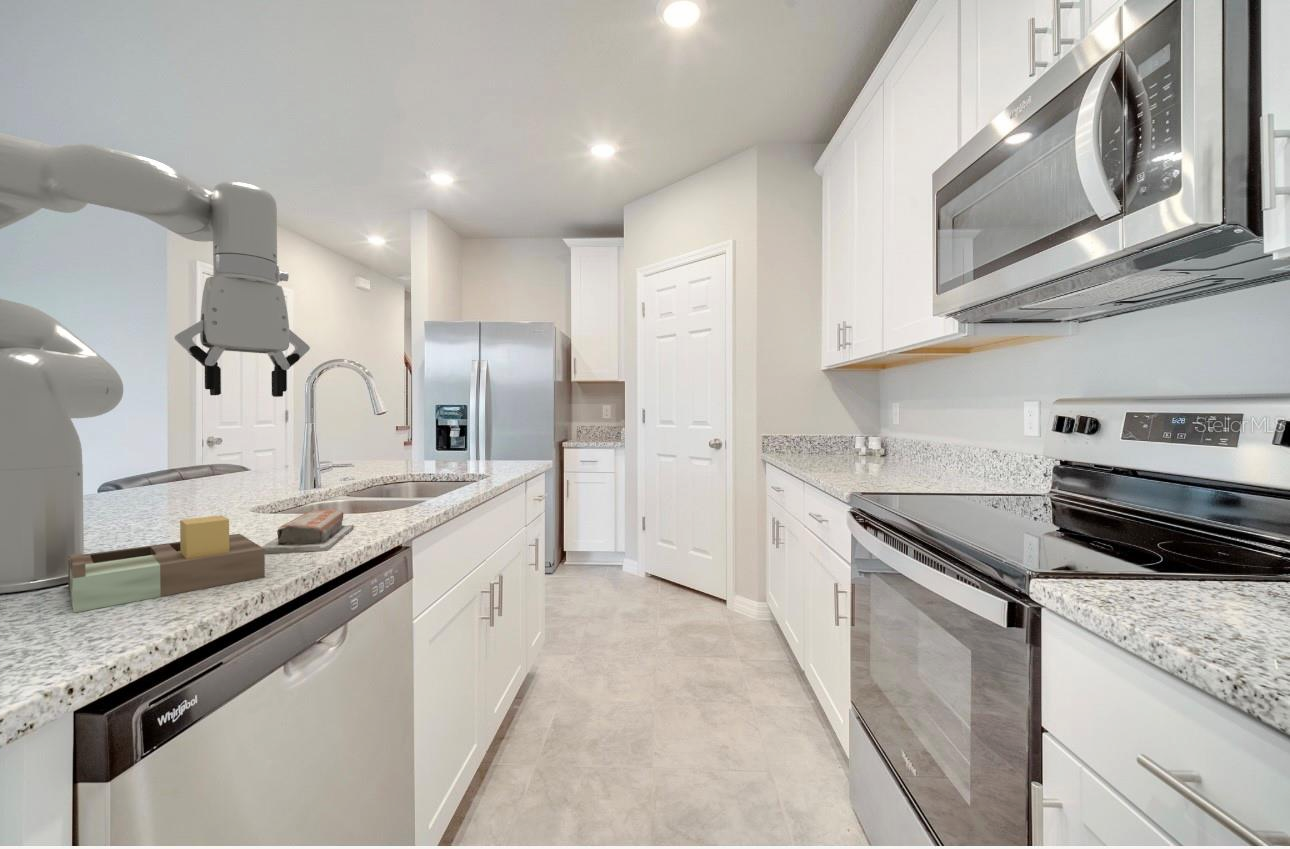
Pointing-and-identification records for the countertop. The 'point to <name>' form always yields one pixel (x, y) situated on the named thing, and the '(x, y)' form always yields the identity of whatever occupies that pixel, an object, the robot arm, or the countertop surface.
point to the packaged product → (309, 533)
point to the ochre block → (204, 536)
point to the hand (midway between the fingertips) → (247, 394)
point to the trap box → (157, 572)
